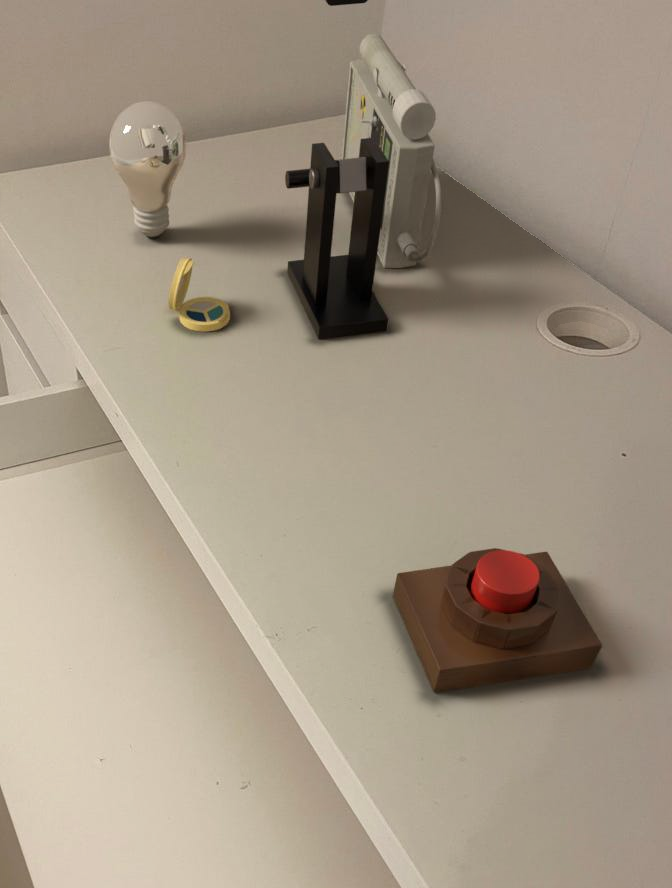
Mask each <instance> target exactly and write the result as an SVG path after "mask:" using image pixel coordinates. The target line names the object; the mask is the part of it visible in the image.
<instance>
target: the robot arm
mask: <svg viewBox="0 0 672 888" xmlns="http://www.w3.org/2000/svg"><path fill="white" fill-rule="evenodd" d="M368 1H369V0H325V2H326V4H327V5H328V6H331V7H333V6H334V7H335V6H347V5H358V4H359V5H361V4H366V3H367V2H368Z"/></svg>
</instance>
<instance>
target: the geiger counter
mask: <svg viewBox="0 0 672 888" xmlns="http://www.w3.org/2000/svg"><path fill="white" fill-rule="evenodd" d="M359 55H360V57H361V59H355V60H350V61H349V71H348V82H347V83H348V84H347V93H346V103H345V104H346V106H345V116H344V126H343V136H342V137H343V138H342V149H341V159H350V158H359V151H360V141H361V139H365V138H373V139H374V141H375V142H376V143H377V145H378V146H379V148H380V149H381V150H382V152H383V153H384V155H385V156H386V158H387V159H388V160H389V167H388V175H387V182H386V190H385V198H384V205H383V213H382V221H381V228H380V236H379V243H378V251H377V257H378V258H379V260H380V263H381V265H382V267H383V268H384V269H403V268H408V267H413V266H416V265H417V262H420V261H423V260H425V259H426V258H427V257H428V256H429V255H430V254H431V252H432V250H433V248H434V247H433V246H434V244H435V240H436V237H437V235H438V232H439V231H438V230H439V225H440V219H441V211H442V188H441V187H442V186H441V180H440V175H439V173H438V169H437V166H436V163H435V160H434V152H435V146H436V145H435V143H434V141H433V139H432V138H431V136H430V134H429V133H430V132H431V131H432V130H433V128H434V126H435V123H436V118H437V113H436V110H435V107H434V106H433V105H432V103H431V102H430V100H429V99H428V97H427V96H426V95H425V93H424V92H423V91H422V90H420V89H417V88H416V87H415V85H414V84H413V82H412V80H411V79H410V77H408V75H407V73H406V70H407V66H406V65H405V64H404V63H402V64H401V63H400V61H399V60H397V57H396V56H395V55H394V53H393V52H392V51H391V49H390V47H389V46H388V44H387V43H386V41H385V39H384V38H383V37H382V35H381V34H379V33H370V34H367V35H366V36H365V37H364V38H363V39H362V40H361V42H360V44H359ZM431 174H432V177H433V181H434V186H435V187H434V188H435V212H434V219H433V225H432V231H431V233H430V237H429V239H428V243H427V246H426V248H425V251H424V252H422V253H421V254H420V252H419V248H420V242H421V241H420V240H421V235H422V228H423V222H424V216H425V209H426V204H427V197H428V190H429V186H430V185H429V184H430V178H431ZM349 197H350V198H351V201H352V202H353V203H354V197H355V192H349Z"/></svg>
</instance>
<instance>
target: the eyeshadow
mask: <svg viewBox="0 0 672 888" xmlns="http://www.w3.org/2000/svg"><path fill="white" fill-rule="evenodd" d="M194 264H195V260H193V259H192V258H187V257H182V258H181V259H180V260H179V263H178V264H177V267H176V269H175V272H174V275H173V277H172V282H171V286H170V290H169V296H168V308H169V309H170V310H173V311H174V312H178V314H179V315H178V316H179V317H178V319H179V322H180V323H181V324H182V326H184V327H185V328H187V329H188V330H191V331H195V332H213V331H218V330H220V329H222V328H224V327H225V326H227V325H228V324H229V322H230V320H231V311H230V306H229V304H228V303H227V302H226V301H224V300H222V299H220V298H217V297H211V296H201V297H194V298H191V299H189V300H186V301H185V299H186V296H187V293H188V291H189V290H188V289H189V287H190V282H191V278H192V272H193V266H194ZM184 301H185V302H184Z"/></svg>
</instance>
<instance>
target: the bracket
mask: <svg viewBox="0 0 672 888" xmlns="http://www.w3.org/2000/svg"><path fill="white" fill-rule="evenodd" d="M310 155H311V156H310V166H309V167H310V168H309V169H310V173H309V187H308V196H307V208H306V209H307V210H306V221H305V222H306V225H305V240H304V251H303V252H304V253H303V259H297V260H296V259H295V260H289V261H287V271H286V274H287V276H288V278H289V280H290V283H291V285H292V286H293V289H294V291H295V294H297V297H298V299H299V301H300V304H301V306H302V308H303V310H304V312H305V314H306V316H307V318H308V320H309V322H310V325H311V327H312V329H313V331H314V333H315V335H316V338H317V340H325V339H334V338H342V337H350V336H358V335H366V334H375V333H376V334H377V333H383V332H387V331H388V326H389V317H388V315H387V314H386V312H385V309H384V308H383V306H382V305H381V302H380V301H379V300H378V298H377V296H376V294H375V293H374V291H373V290H374V289H373V288H374V281H375V275H376V274H375V273H376V265H377V259H378V254H377V251H378V243H379V236H380V228H381V221H382V213H383V205H384V198H385V190H386V182H387V175H388V167H389V160H388V159H387V158H386V156H385V155H384V153H383V152H382V150H381V149H380V148H379V146H378V145H377V143H376V142H375V141H374V139H373V138H365V139H361V141H360V151H359V158H360V157H366V183H367V190H366V191H358V192H355V197H354V202H353V208H352V218H351V226H350V234H349V246H348V252H347V253H348V254H342V255H332V247H333V235H334V225H335V212H336V202H337V194H338V193H337V183H338V172H339V166H338V164H337V163H336V161H335V160H336V159H335V158H334V156H333V155H332V153H331V152H330V150H329V149H328V147H327V145H326V144H325V142H316V143H315V142H314V143H312V144H311V154H310Z"/></svg>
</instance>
